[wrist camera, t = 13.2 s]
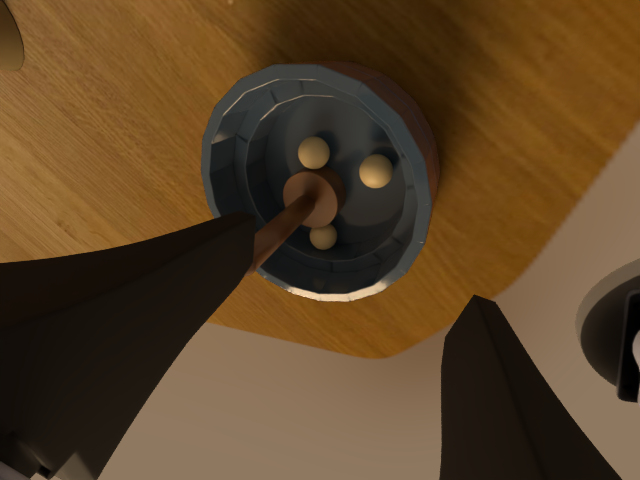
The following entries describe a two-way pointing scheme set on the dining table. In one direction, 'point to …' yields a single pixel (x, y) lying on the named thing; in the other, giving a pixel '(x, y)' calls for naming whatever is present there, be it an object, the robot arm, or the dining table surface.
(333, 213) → the wooden pestle
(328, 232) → the chickpea
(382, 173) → the chickpea
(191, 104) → the dining table surface
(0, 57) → the brown game pawn
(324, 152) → the chickpea
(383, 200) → the bowl
